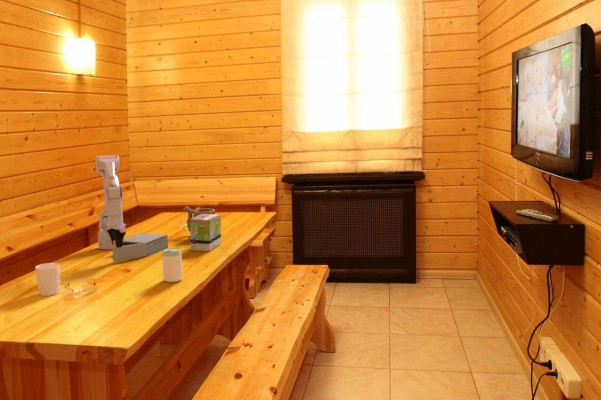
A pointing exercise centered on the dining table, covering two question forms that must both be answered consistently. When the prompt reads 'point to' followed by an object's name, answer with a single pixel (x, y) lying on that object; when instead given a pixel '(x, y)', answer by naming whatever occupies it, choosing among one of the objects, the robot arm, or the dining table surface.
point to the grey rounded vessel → (197, 213)
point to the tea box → (205, 232)
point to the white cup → (48, 278)
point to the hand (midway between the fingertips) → (117, 246)
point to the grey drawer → (129, 251)
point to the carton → (148, 241)
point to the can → (172, 265)
